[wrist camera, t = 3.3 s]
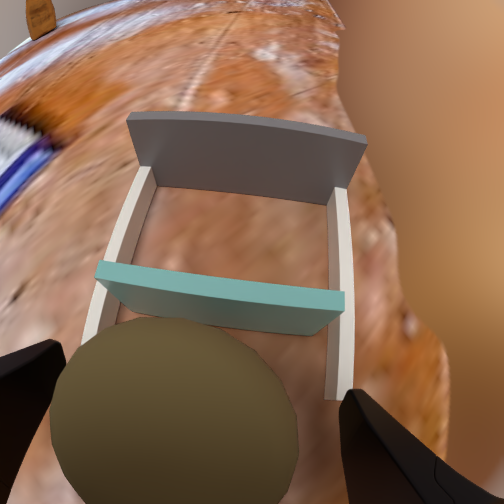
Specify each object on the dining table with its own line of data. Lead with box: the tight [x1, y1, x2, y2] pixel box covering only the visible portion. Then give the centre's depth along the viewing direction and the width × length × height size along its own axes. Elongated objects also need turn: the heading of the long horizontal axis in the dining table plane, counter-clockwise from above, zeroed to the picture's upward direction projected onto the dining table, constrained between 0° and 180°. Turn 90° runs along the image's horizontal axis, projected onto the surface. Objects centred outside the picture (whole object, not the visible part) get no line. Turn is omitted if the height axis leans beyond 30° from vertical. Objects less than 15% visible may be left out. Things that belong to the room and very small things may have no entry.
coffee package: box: [26, 0, 56, 40], centre depth 39 cm, size 10×12×22 cm
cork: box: [49, 317, 299, 504], centre depth 8 cm, size 6×6×11 cm
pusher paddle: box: [94, 260, 345, 336], centre depth 13 cm, size 1×10×5 cm, turn 84°
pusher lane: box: [81, 111, 368, 400], centre depth 14 cm, size 13×14×6 cm
